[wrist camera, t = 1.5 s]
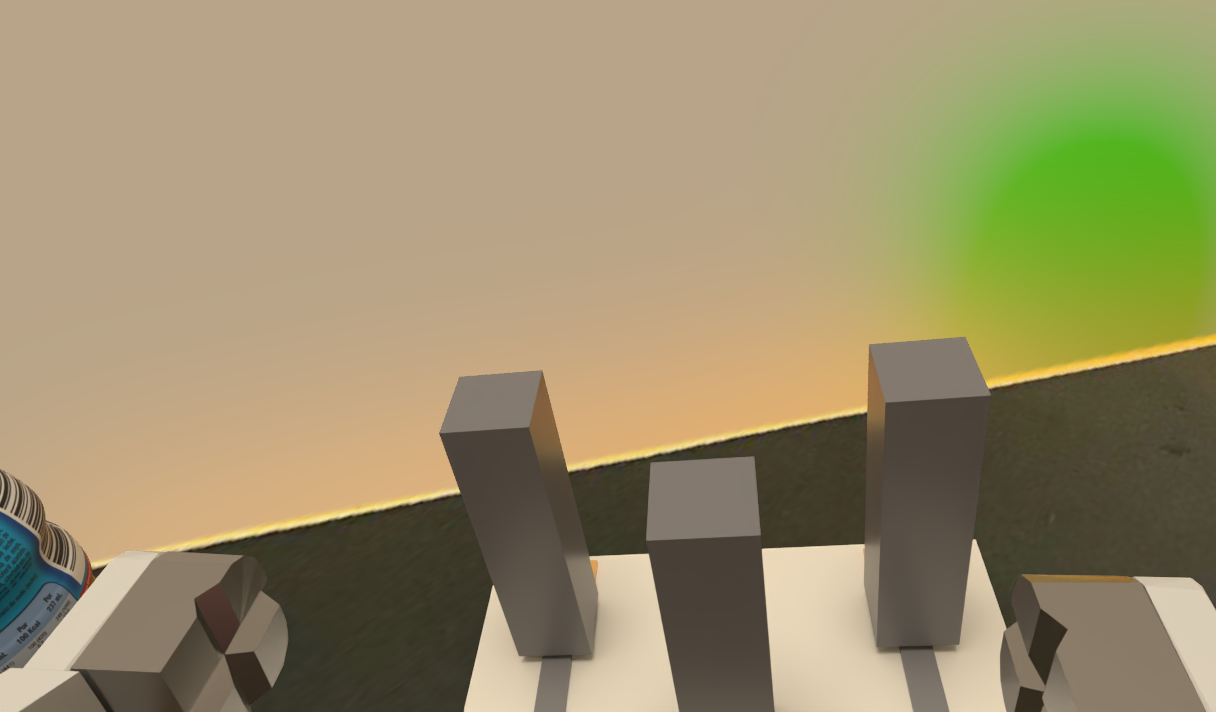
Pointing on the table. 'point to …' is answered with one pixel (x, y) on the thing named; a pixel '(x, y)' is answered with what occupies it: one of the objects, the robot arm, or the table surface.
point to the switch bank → (798, 639)
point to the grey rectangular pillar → (711, 583)
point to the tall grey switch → (921, 487)
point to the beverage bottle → (34, 573)
